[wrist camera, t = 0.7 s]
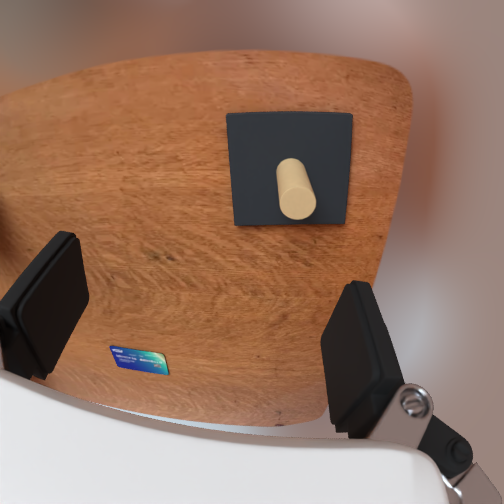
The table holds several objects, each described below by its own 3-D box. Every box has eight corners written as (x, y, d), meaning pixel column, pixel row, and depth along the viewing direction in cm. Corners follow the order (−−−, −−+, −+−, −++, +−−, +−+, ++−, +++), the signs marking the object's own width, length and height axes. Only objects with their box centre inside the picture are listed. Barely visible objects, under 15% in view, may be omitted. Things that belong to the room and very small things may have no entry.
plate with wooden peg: (226, 113, 24) (214, 130, 18) (350, 113, 23) (378, 131, 17) (235, 221, 29) (227, 267, 23) (343, 220, 29) (361, 264, 23)
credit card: (117, 366, 44) (117, 366, 44) (108, 345, 41) (108, 345, 41) (169, 374, 44) (168, 375, 44) (163, 353, 41) (163, 354, 41)
